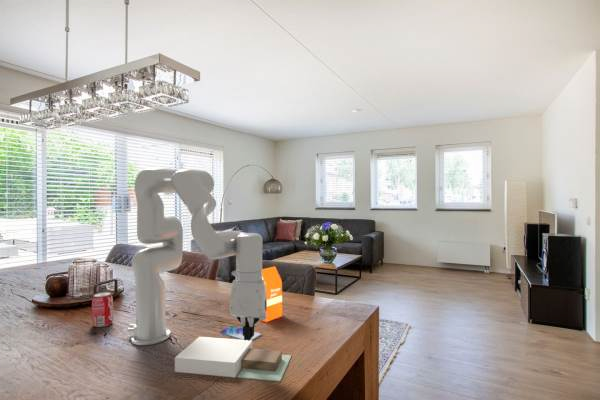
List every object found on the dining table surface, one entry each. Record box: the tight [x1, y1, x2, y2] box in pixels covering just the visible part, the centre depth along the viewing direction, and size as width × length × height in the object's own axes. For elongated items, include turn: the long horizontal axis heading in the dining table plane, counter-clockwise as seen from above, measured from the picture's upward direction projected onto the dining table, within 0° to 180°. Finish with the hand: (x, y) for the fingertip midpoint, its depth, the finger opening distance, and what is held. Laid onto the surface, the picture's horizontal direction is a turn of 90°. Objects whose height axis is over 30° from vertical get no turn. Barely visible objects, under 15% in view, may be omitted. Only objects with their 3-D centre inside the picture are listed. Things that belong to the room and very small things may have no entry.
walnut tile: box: [241, 347, 283, 371], centre depth 94 cm, size 10×7×2 cm
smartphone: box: [218, 325, 263, 342], centre depth 116 cm, size 7×1×15 cm
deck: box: [174, 336, 253, 378], centre depth 96 cm, size 18×14×4 cm
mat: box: [236, 354, 292, 382], centre depth 93 cm, size 12×14×1 cm
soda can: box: [91, 291, 114, 328], centre depth 126 cm, size 7×7×12 cm
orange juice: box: [261, 266, 283, 323], centre depth 132 cm, size 8×9×20 cm
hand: (248, 338), depth 94 cm, fingers closed
